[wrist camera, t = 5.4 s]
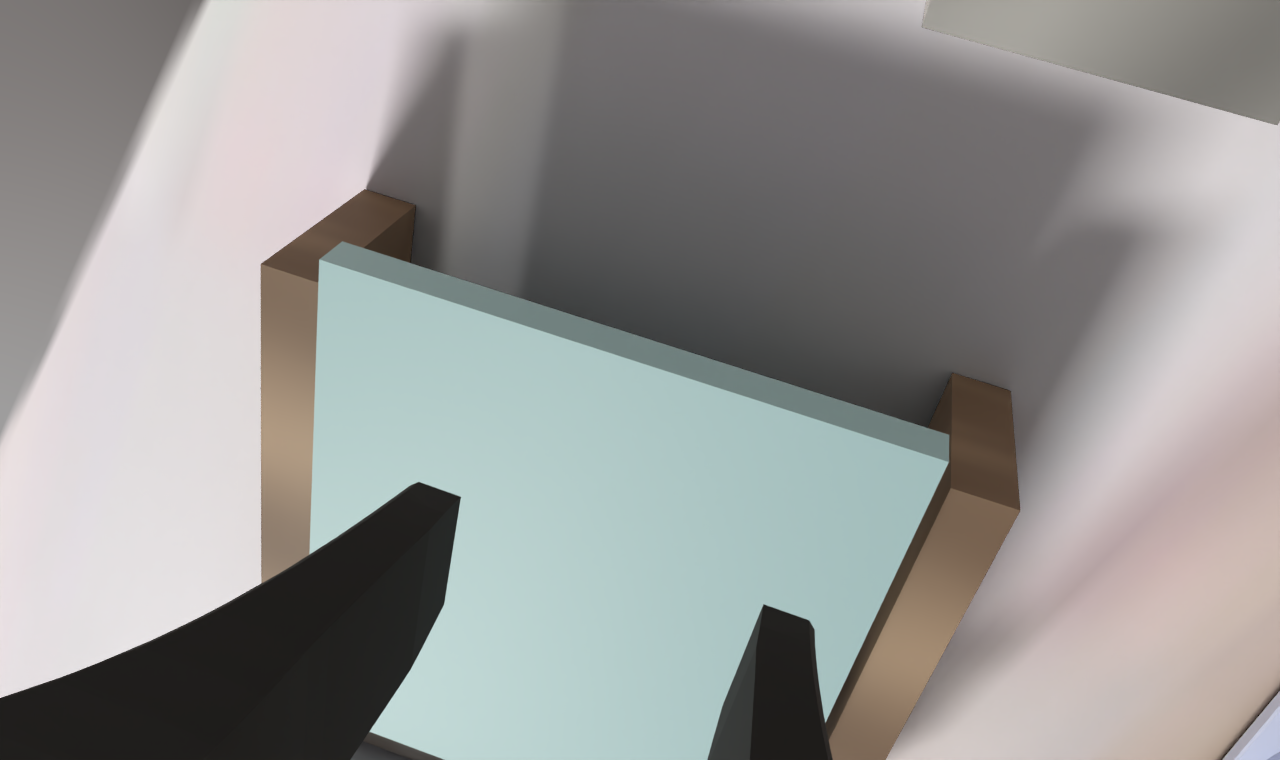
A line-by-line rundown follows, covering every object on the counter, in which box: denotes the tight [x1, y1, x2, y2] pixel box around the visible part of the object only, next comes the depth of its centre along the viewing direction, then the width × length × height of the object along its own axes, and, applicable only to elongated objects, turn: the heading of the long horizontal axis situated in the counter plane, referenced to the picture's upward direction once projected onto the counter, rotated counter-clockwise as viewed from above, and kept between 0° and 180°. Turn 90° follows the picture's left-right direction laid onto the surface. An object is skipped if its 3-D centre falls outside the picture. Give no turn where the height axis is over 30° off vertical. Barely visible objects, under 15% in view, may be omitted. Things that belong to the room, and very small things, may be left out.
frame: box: [261, 189, 1020, 760], centre depth 23 cm, size 14×14×5 cm
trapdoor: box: [309, 241, 949, 760], centre depth 22 cm, size 17×11×2 cm, turn 168°
